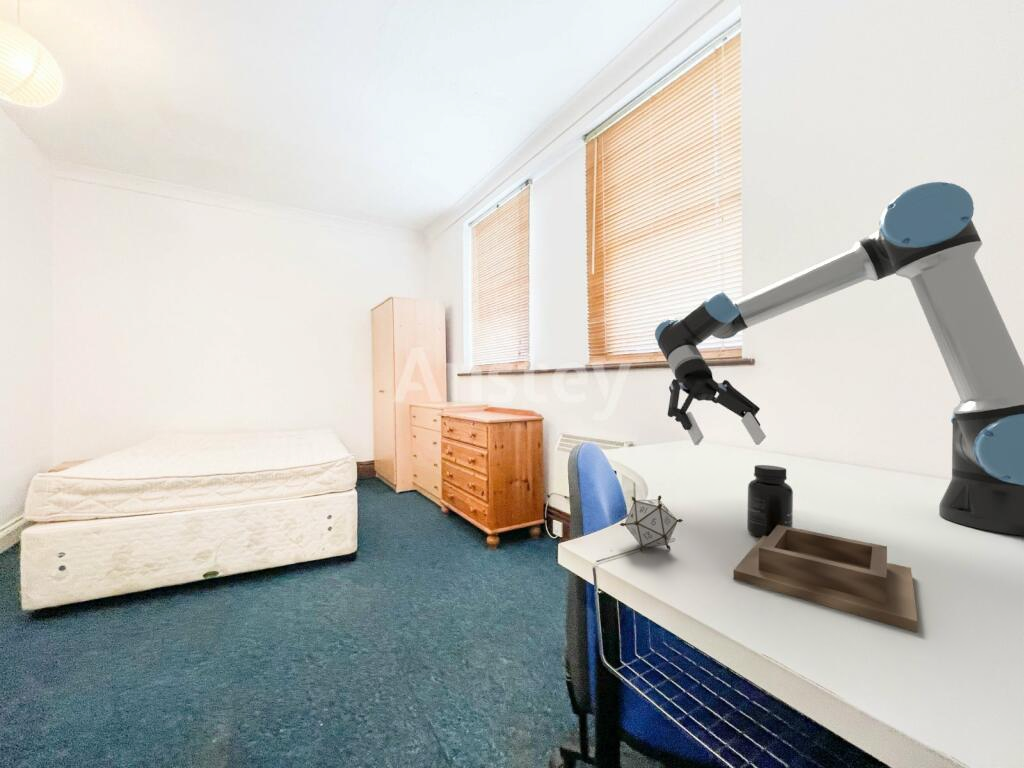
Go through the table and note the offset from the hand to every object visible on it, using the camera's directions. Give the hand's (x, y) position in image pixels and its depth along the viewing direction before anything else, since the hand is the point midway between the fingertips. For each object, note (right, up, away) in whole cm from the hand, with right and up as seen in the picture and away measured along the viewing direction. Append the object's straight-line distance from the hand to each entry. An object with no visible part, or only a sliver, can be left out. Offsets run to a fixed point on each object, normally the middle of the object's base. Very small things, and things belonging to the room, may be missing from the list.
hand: (730, 441), depth 85 cm
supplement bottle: (+1, -15, -11) cm, 19 cm away
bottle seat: (-1, -15, -27) cm, 31 cm away
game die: (-22, -15, -17) cm, 31 cm away
